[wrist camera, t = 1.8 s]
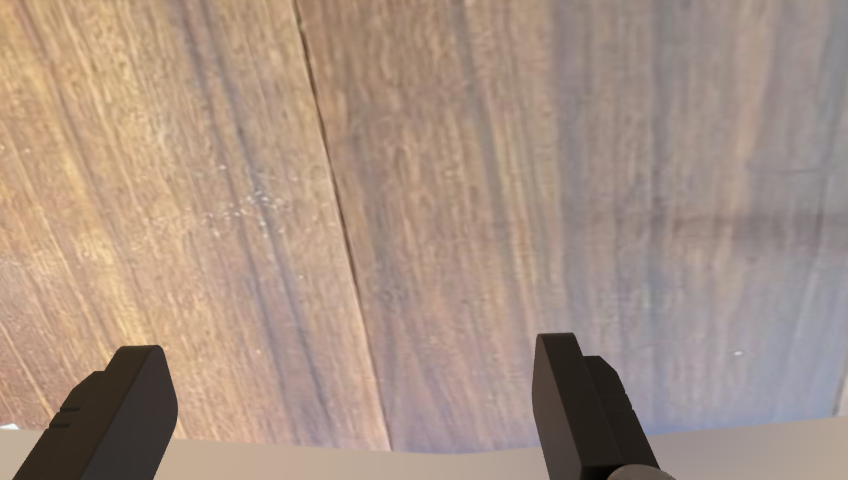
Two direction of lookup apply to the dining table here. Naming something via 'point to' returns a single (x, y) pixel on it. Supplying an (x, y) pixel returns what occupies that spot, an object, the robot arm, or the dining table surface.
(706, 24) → the dining table surface
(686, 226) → the dining table surface
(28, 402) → the dining table surface
